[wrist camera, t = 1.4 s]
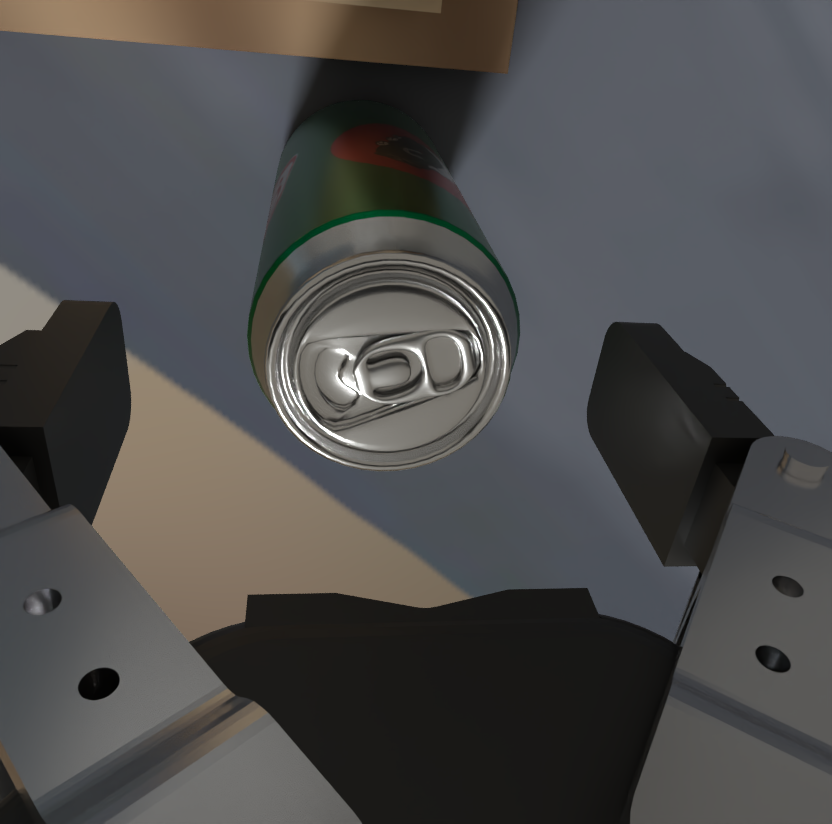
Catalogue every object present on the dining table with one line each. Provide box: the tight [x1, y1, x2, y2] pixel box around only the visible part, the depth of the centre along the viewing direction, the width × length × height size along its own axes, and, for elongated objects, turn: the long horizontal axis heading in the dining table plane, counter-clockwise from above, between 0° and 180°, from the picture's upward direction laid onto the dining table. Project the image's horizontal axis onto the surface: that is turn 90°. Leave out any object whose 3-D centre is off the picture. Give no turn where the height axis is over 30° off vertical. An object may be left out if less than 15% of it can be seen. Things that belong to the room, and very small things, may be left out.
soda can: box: [247, 100, 520, 471], centre depth 18 cm, size 5×5×12 cm
